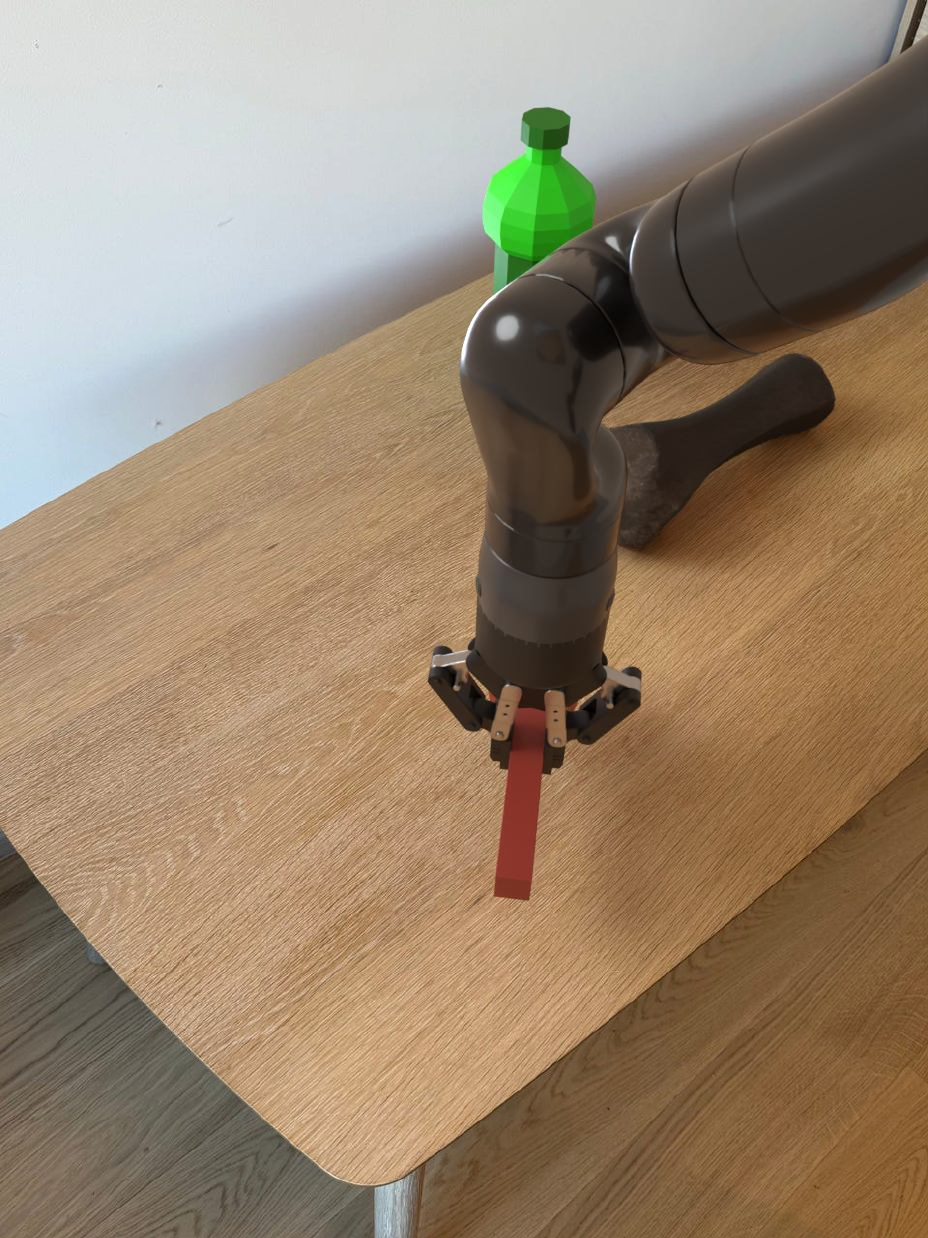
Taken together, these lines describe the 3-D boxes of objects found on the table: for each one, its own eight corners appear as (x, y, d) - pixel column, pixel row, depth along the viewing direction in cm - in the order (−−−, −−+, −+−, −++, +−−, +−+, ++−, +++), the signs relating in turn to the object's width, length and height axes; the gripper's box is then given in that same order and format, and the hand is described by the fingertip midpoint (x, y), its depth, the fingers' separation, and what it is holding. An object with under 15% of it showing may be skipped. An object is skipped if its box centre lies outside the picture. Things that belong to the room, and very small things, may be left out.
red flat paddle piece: (563, 905, 67) (567, 885, 65) (459, 892, 68) (460, 872, 66) (581, 662, 80) (584, 639, 78) (493, 652, 80) (495, 629, 78)
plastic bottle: (597, 359, 113) (630, 118, 95) (529, 404, 108) (549, 159, 90) (526, 319, 118) (543, 80, 99) (457, 360, 113) (461, 117, 94)
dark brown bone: (603, 575, 96) (792, 469, 111) (671, 525, 87) (866, 417, 102) (537, 471, 97) (733, 379, 112) (598, 412, 88) (802, 320, 103)
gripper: (670, 553, 63) (630, 727, 76) (431, 528, 64) (432, 704, 77) (670, 654, 58) (627, 822, 71) (410, 625, 59) (415, 796, 72)
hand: (525, 760), depth 74 cm, fingers closed on red flat paddle piece, 2 cm apart
